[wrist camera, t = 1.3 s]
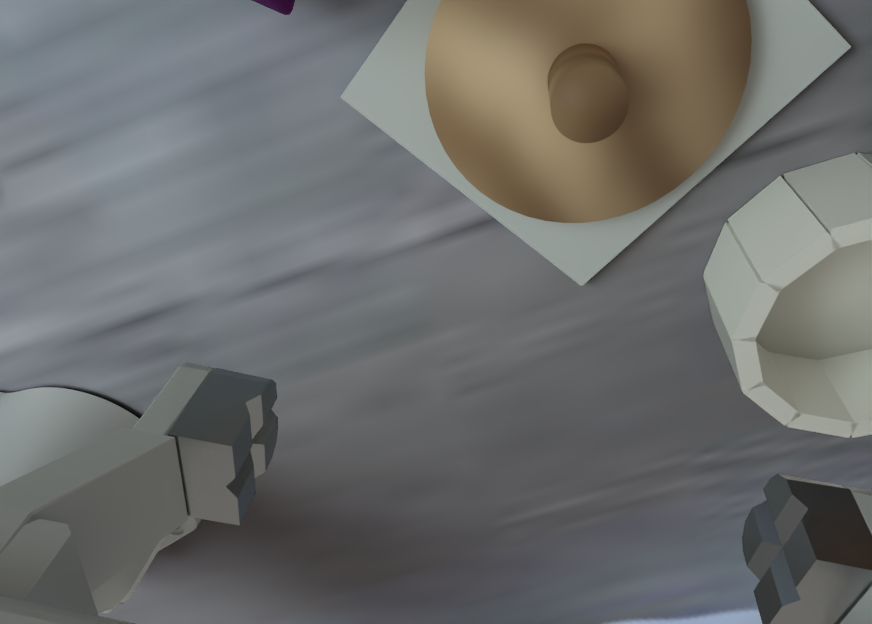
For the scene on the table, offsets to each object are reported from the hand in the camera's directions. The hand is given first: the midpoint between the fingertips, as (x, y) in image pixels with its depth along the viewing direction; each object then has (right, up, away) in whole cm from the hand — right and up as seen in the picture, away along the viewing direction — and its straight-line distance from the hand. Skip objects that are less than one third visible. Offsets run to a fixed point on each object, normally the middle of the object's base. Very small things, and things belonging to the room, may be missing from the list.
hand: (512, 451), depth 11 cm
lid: (+5, +13, +19) cm, 24 cm away
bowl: (+19, +5, +24) cm, 31 cm away
